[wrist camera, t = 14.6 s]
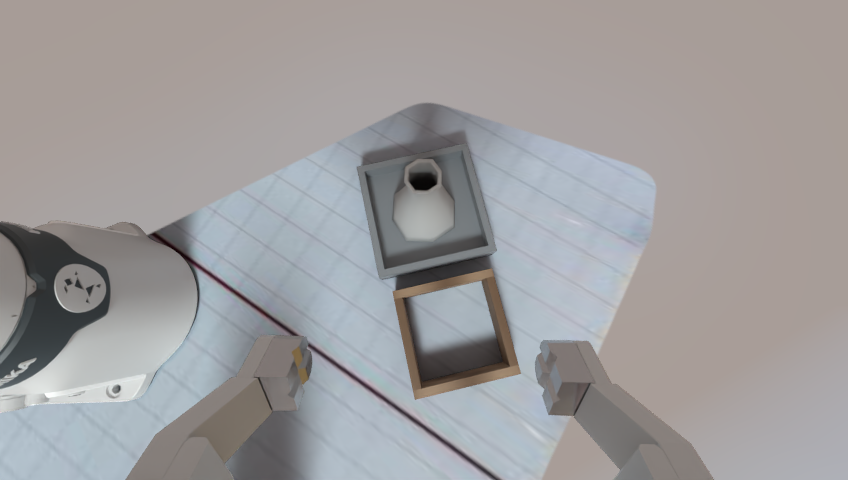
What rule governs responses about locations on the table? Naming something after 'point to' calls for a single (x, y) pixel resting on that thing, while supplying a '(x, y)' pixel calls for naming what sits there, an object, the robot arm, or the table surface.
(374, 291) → the table surface
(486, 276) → the shaker holder
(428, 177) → the flask
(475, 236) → the tray
